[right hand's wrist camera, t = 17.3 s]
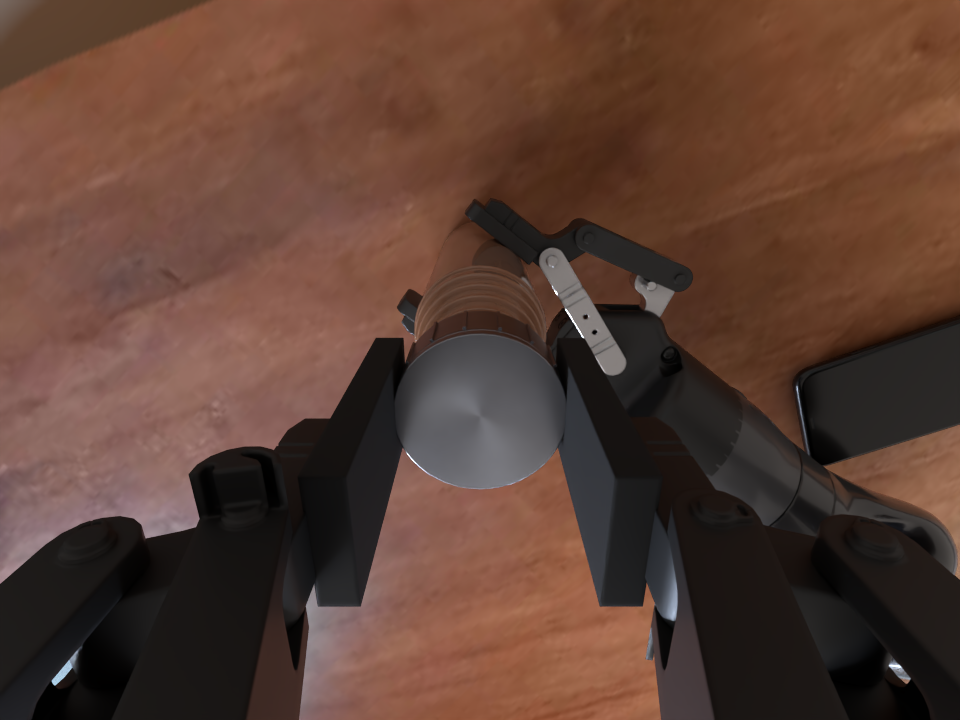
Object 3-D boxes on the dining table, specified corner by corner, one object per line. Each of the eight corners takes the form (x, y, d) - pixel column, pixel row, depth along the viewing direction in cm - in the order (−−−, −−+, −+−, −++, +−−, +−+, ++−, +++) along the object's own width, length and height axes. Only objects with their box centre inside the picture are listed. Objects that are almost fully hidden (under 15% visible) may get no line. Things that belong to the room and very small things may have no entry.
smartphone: (1049, 281, 31) (786, 370, 33) (1065, 284, 30) (794, 375, 33) (1047, 389, 34) (804, 465, 36) (1061, 395, 33) (812, 473, 35)
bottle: (523, 295, 32) (579, 472, 14) (446, 305, 32) (405, 491, 14) (515, 215, 30) (568, 303, 12) (434, 226, 30) (369, 328, 12)
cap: (380, 419, 15) (366, 455, 13) (437, 283, 13) (430, 303, 12) (517, 470, 16) (522, 512, 14) (585, 346, 14) (601, 375, 12)
